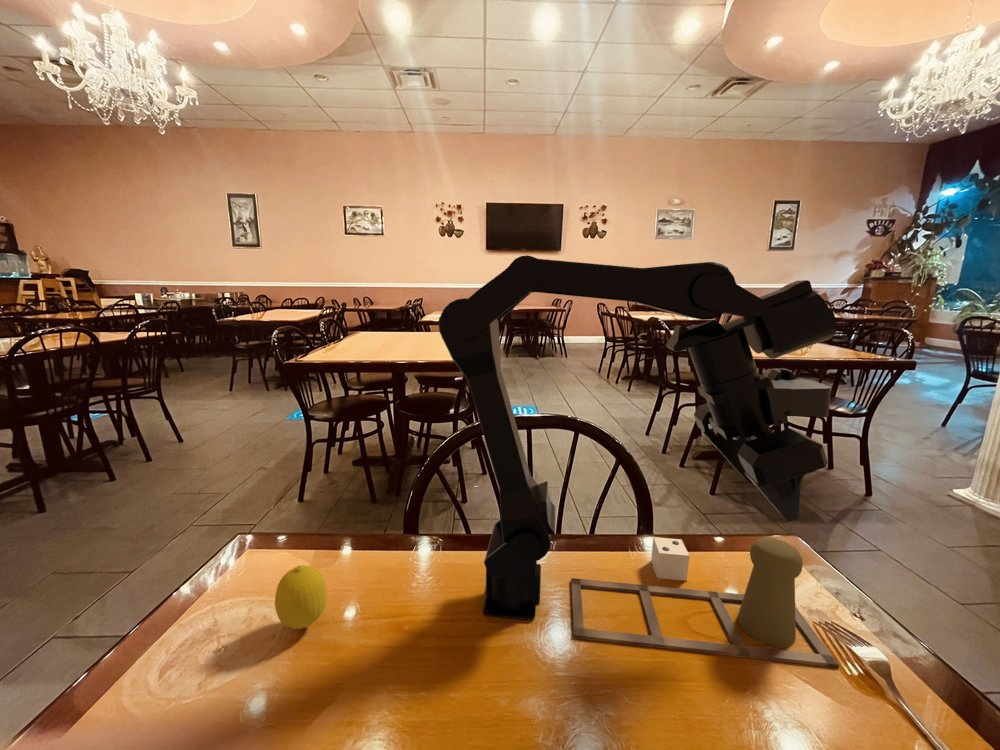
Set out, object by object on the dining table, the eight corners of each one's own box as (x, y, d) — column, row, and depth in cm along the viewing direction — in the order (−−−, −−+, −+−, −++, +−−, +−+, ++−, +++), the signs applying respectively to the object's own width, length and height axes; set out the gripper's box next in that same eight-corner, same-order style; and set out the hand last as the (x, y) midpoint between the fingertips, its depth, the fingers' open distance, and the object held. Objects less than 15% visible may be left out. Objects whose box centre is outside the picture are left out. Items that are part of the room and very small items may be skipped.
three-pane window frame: (573, 638, 50) (574, 634, 50) (571, 580, 60) (571, 578, 59) (838, 667, 46) (839, 664, 46) (788, 601, 56) (789, 598, 56)
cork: (805, 651, 48) (820, 563, 46) (747, 642, 49) (759, 556, 47) (782, 612, 54) (794, 533, 52) (730, 605, 55) (740, 527, 53)
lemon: (337, 626, 51) (333, 566, 49) (289, 653, 47) (283, 589, 46) (316, 603, 55) (312, 546, 53) (270, 627, 51) (264, 567, 49)
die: (657, 578, 60) (659, 552, 60) (651, 561, 64) (653, 536, 63) (686, 581, 60) (689, 555, 59) (678, 563, 64) (681, 539, 63)
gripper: (866, 360, 36) (915, 521, 38) (763, 338, 54) (799, 447, 56) (732, 405, 38) (785, 555, 40) (676, 369, 56) (714, 474, 58)
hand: (770, 499), depth 49 cm, fingers open, 9 cm apart
